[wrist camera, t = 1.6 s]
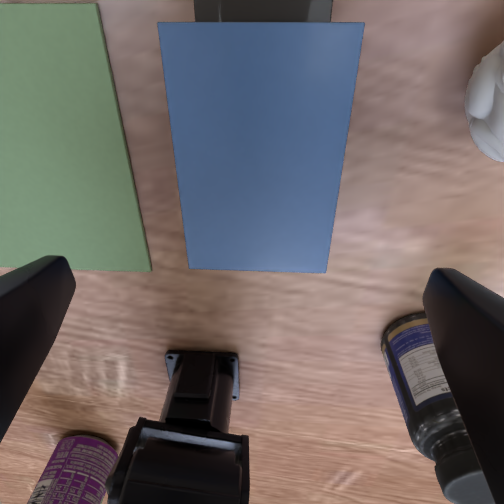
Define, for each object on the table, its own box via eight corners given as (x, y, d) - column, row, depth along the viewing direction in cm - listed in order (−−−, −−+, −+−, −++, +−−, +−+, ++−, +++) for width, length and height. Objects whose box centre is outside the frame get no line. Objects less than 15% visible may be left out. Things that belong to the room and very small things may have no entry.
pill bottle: (437, 365, 29) (511, 518, 20) (368, 356, 29) (412, 507, 20) (472, 314, 26) (579, 472, 17) (394, 304, 26) (460, 457, 17)
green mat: (152, 269, 25) (151, 272, 25) (-4, 264, 26) (-6, 266, 25) (97, 3, 16) (94, 3, 16) (-140, 3, 17) (-146, 3, 16)
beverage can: (63, 454, 42) (-1, 585, 33) (58, 425, 39) (-17, 564, 29) (120, 463, 43) (74, 595, 33) (120, 435, 39) (68, 575, 29)
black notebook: (301, 233, 23) (305, 257, 20) (219, 231, 23) (213, 254, 21) (325, -11, 15) (334, -16, 13) (204, -10, 16) (192, -16, 13)
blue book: (318, 240, 20) (326, 273, 17) (200, 236, 20) (188, 269, 17) (347, 22, 14) (365, 22, 11) (178, 22, 14) (156, 22, 11)
